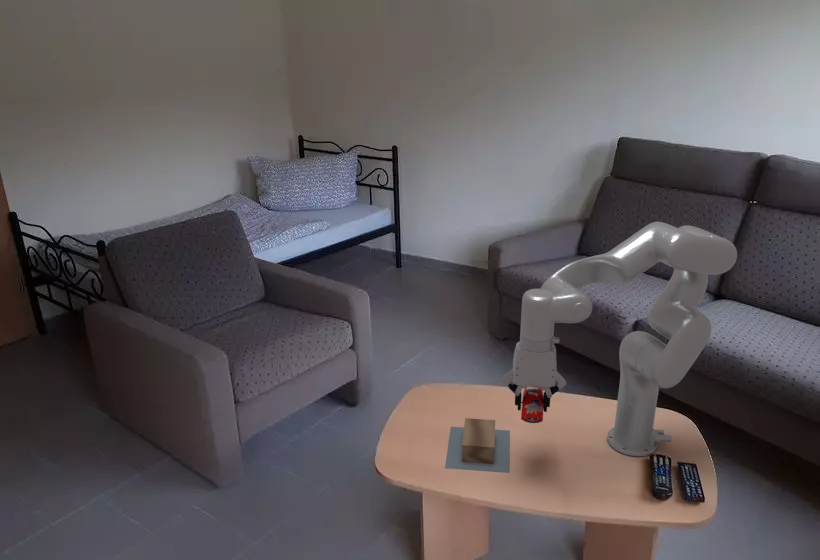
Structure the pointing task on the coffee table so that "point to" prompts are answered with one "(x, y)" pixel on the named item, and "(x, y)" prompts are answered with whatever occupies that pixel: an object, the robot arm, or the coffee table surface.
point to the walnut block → (478, 441)
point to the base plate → (499, 463)
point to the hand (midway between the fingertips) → (531, 407)
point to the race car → (532, 405)
